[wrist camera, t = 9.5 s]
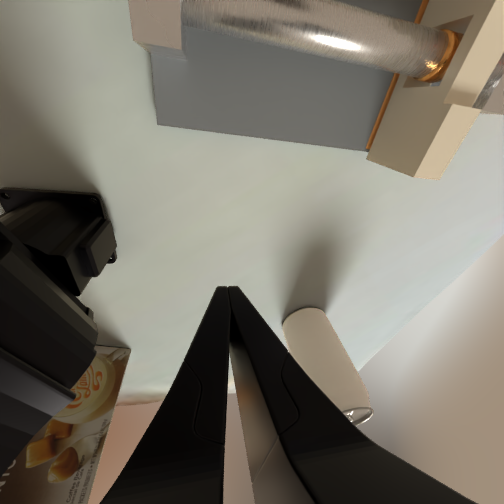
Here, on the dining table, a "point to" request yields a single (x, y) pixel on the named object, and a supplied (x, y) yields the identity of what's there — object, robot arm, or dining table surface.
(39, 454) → the coffee box
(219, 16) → the steel pipe
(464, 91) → the cream flat bar
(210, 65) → the rail board
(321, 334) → the can
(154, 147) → the dining table surface
